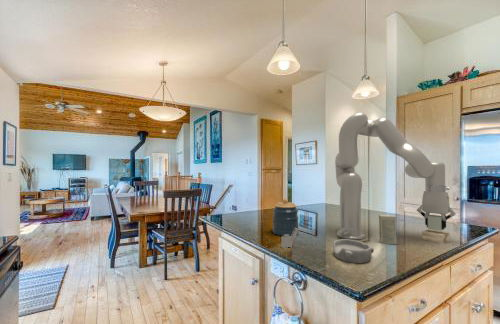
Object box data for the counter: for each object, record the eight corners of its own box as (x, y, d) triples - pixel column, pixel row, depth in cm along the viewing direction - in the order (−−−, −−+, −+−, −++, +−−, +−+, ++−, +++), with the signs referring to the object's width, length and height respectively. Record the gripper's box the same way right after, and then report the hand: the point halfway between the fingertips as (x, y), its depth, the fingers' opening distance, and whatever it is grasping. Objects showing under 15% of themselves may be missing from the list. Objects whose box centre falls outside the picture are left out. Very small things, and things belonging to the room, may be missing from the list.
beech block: (442, 244, 111) (442, 235, 111) (422, 239, 118) (422, 231, 118) (449, 241, 115) (449, 232, 115) (430, 237, 122) (429, 229, 122)
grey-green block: (441, 231, 113) (441, 217, 113) (427, 229, 117) (427, 216, 117) (443, 229, 116) (443, 216, 117) (430, 227, 120) (430, 214, 120)
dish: (352, 267, 85) (352, 252, 85) (324, 254, 98) (324, 241, 98) (382, 260, 91) (382, 246, 91) (352, 249, 103) (352, 237, 104)
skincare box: (394, 242, 113) (394, 214, 113) (396, 244, 109) (396, 216, 109) (378, 240, 115) (378, 213, 115) (380, 243, 111) (380, 215, 111)
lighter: (282, 248, 104) (282, 228, 104) (281, 246, 106) (281, 227, 106) (298, 247, 105) (298, 228, 105) (297, 246, 107) (297, 227, 107)
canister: (302, 232, 129) (302, 198, 130) (292, 238, 118) (292, 200, 119) (279, 229, 136) (279, 196, 136) (268, 234, 125) (268, 199, 126)
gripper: (459, 189, 113) (460, 230, 113) (415, 187, 126) (416, 223, 125) (457, 190, 108) (457, 233, 108) (411, 188, 120) (412, 226, 120)
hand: (435, 227), depth 117 cm, fingers closed on grey-green block, 5 cm apart
